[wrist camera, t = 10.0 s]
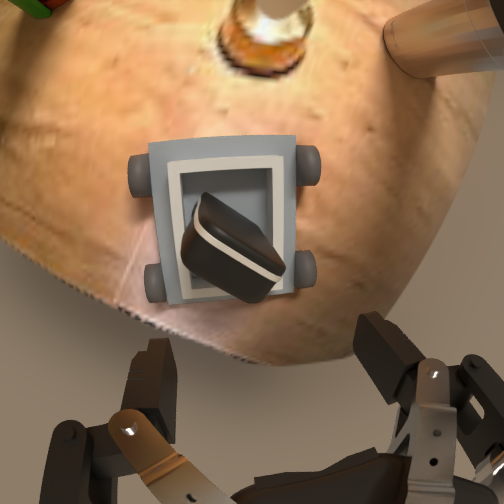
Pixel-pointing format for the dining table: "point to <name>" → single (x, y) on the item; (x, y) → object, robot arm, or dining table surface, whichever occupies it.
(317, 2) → the dining table surface
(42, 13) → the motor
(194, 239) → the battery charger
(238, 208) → the chassis
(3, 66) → the dining table surface
